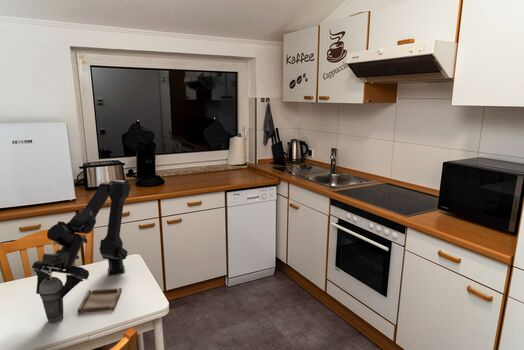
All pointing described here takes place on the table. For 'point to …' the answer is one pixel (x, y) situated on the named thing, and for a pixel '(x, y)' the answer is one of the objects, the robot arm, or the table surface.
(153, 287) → the table surface
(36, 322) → the table surface
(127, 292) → the table surface
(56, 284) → the beverage cup
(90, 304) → the walnut tray
